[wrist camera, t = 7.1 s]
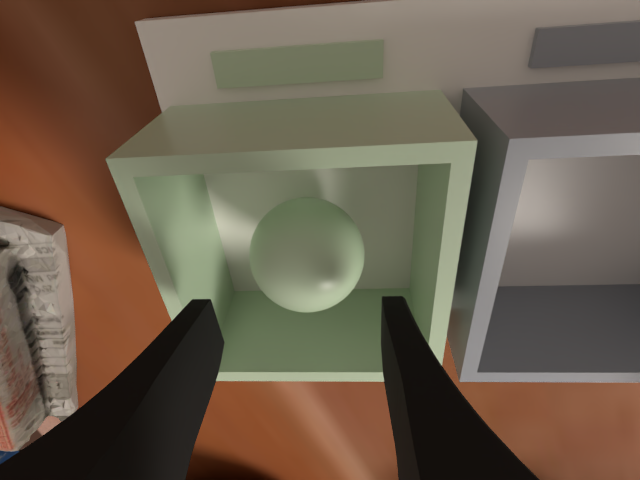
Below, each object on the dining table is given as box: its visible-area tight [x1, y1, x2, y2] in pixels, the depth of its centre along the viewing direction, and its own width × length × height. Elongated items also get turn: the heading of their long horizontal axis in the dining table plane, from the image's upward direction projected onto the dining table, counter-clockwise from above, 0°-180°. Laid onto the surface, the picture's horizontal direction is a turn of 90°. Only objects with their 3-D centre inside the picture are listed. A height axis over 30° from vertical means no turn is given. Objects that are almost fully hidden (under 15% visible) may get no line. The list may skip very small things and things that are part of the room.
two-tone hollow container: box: [105, 0, 640, 382], centre depth 15 cm, size 22×14×6 cm, turn 94°
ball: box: [249, 197, 365, 313], centre depth 15 cm, size 4×4×4 cm
